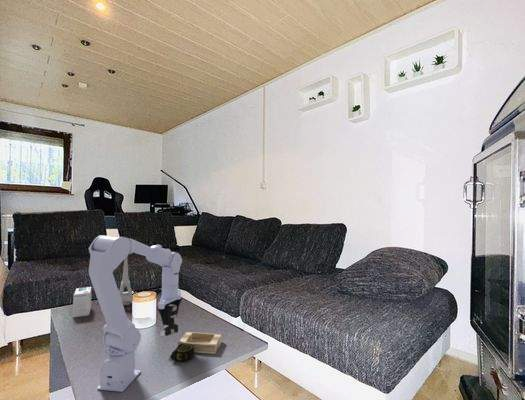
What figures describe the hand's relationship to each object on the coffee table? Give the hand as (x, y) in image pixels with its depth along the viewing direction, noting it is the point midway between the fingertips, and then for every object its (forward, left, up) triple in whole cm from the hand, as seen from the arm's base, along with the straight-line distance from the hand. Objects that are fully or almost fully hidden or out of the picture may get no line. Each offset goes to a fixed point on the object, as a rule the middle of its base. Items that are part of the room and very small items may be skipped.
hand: (169, 321), depth 102 cm
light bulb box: (+25, +56, -10) cm, 63 cm away
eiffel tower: (+36, +41, -10) cm, 56 cm away
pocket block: (+3, -11, -10) cm, 15 cm away
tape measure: (-5, -7, -10) cm, 14 cm away
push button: (0, 0, -5) cm, 5 cm away
